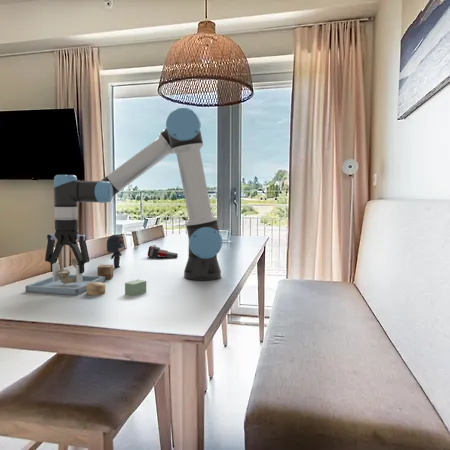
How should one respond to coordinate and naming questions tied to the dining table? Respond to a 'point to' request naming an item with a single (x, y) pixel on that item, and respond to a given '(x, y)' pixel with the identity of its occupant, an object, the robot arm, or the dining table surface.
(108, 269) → the walnut cube
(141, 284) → the green painted block
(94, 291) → the oak disc
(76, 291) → the tray
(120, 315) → the dining table surface
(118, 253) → the toy
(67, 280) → the beige curved figurine
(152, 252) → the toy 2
